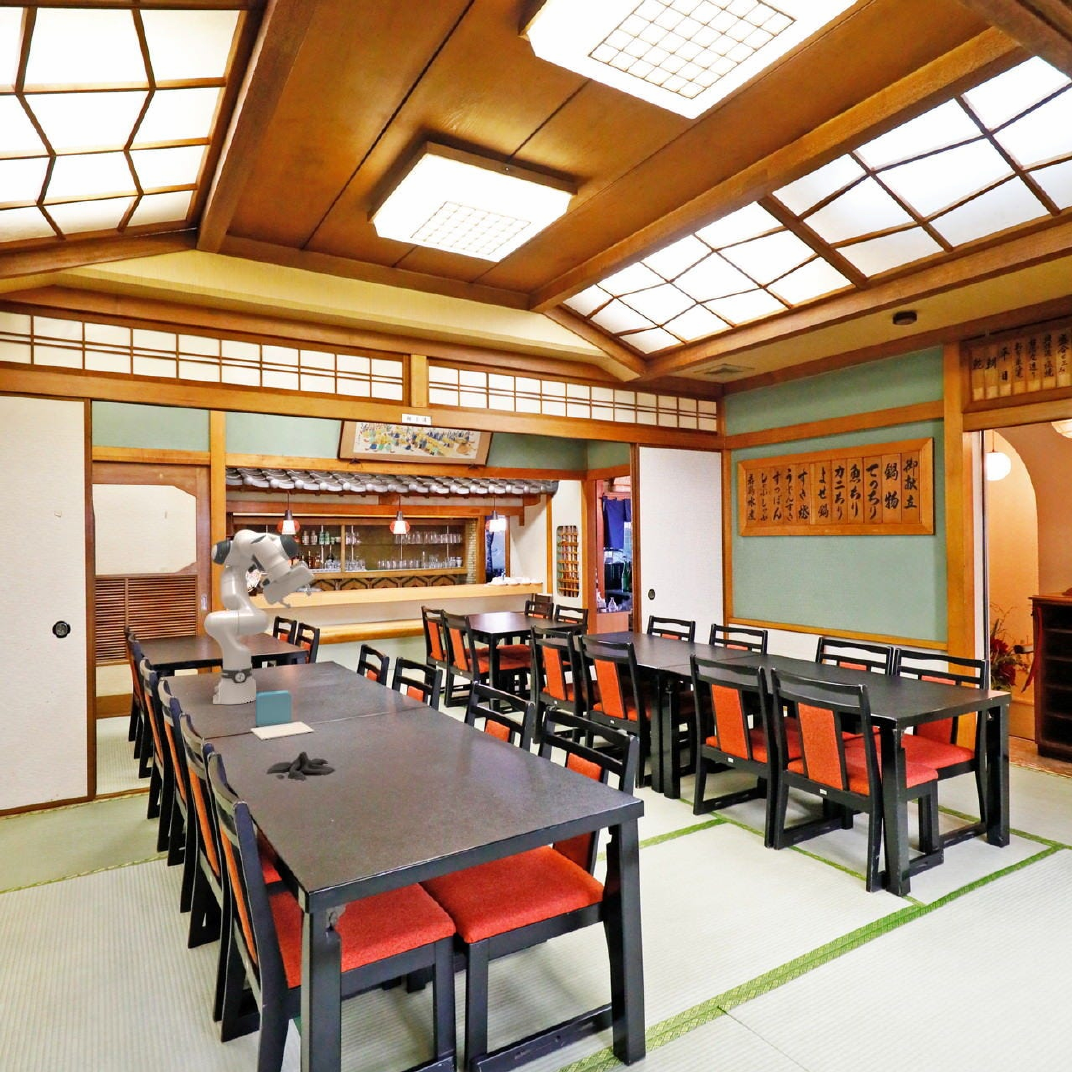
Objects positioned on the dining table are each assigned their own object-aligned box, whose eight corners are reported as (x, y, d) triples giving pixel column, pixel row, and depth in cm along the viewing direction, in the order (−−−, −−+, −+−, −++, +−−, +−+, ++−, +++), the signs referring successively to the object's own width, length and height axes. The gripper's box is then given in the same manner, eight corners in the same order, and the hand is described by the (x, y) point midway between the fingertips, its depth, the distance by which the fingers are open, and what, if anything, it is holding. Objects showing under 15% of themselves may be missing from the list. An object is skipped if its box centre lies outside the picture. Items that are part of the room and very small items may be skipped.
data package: (289, 721, 262) (289, 689, 262) (291, 724, 258) (291, 692, 258) (255, 725, 257) (255, 692, 257) (256, 728, 253) (257, 695, 253)
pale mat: (250, 730, 249) (250, 728, 249) (300, 723, 260) (300, 721, 260) (261, 740, 236) (261, 738, 236) (314, 732, 247) (314, 730, 247)
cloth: (260, 769, 207) (260, 748, 207) (322, 759, 217) (322, 739, 218) (277, 791, 189) (277, 768, 189) (345, 778, 199) (345, 757, 199)
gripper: (304, 558, 279) (323, 586, 280) (260, 585, 277) (279, 614, 278) (301, 559, 273) (321, 588, 274) (255, 587, 271) (275, 616, 272)
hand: (299, 601), depth 276 cm, fingers open, 8 cm apart
